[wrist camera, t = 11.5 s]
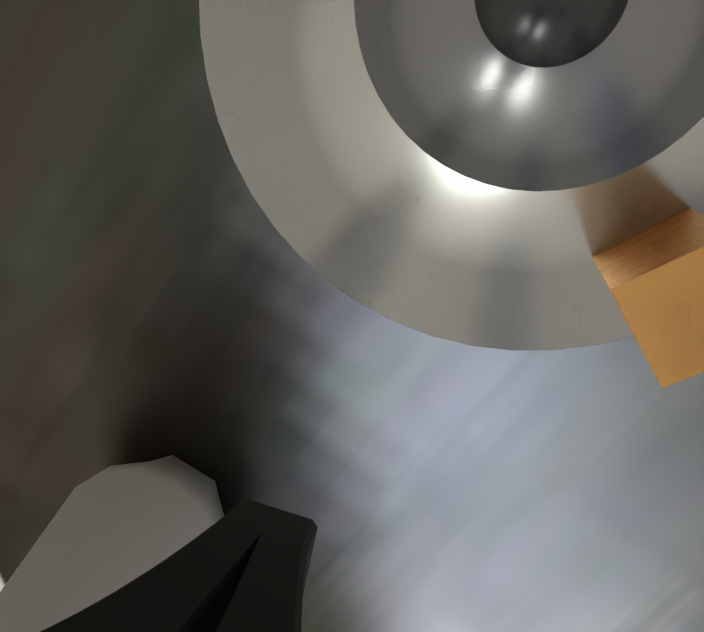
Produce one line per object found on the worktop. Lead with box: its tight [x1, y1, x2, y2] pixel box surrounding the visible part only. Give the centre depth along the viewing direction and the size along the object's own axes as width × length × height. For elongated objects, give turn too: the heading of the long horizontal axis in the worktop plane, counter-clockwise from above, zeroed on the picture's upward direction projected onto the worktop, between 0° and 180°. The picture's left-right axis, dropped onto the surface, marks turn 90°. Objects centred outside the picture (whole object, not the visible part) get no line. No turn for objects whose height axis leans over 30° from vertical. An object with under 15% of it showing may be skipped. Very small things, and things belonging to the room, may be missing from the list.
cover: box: [354, 0, 704, 191], centre depth 13 cm, size 7×7×4 cm
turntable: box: [199, 0, 704, 388], centre depth 14 cm, size 16×16×4 cm
